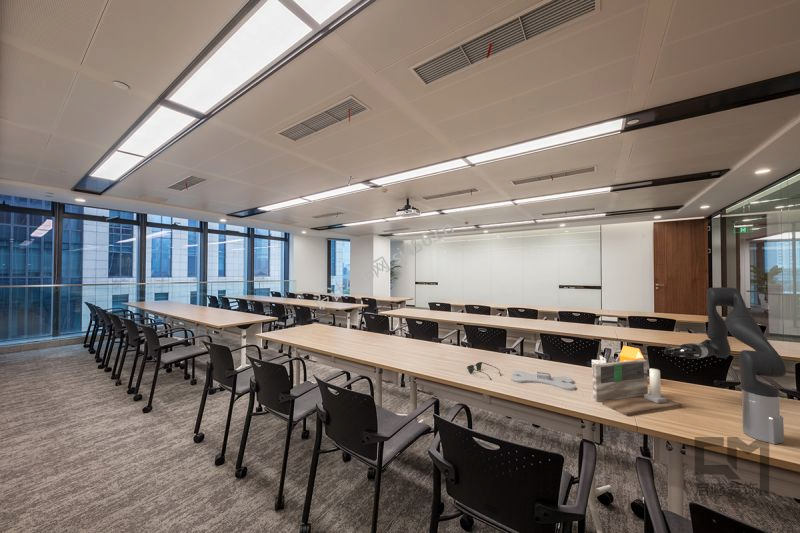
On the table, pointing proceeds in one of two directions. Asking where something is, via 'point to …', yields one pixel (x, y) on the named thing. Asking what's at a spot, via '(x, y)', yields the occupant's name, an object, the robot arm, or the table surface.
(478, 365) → the sunglasses
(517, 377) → the holder
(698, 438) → the table surface
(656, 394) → the white cylinder on base
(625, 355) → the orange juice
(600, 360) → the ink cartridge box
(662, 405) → the base
